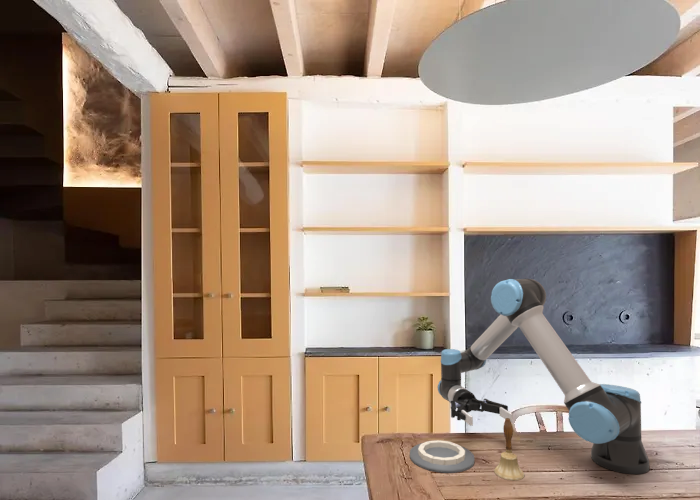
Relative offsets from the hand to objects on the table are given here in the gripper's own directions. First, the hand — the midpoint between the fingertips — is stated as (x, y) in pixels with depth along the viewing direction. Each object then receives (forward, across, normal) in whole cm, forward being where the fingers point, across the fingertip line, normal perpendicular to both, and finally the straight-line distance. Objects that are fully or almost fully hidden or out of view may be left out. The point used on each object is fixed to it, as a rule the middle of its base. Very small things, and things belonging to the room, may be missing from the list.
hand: (491, 419), depth 136 cm
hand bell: (+10, 0, -12) cm, 16 cm away
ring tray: (-4, +15, -12) cm, 20 cm away
